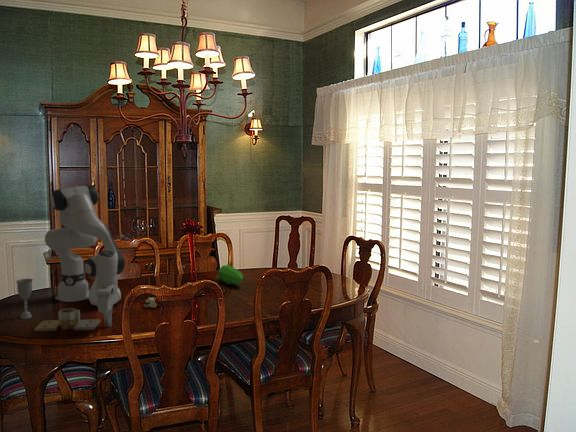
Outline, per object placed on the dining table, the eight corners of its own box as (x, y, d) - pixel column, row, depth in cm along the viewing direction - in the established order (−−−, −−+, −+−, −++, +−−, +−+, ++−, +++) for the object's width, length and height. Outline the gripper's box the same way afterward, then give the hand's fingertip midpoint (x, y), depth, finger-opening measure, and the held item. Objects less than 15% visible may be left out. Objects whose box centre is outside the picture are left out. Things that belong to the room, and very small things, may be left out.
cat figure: (187, 302, 273) (141, 304, 260) (188, 286, 272) (142, 288, 259) (193, 306, 264) (146, 309, 251) (194, 290, 264) (147, 292, 251)
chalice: (30, 313, 244) (29, 277, 242) (37, 316, 239) (35, 280, 237) (15, 317, 238) (13, 280, 236) (21, 320, 234) (19, 283, 232)
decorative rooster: (121, 308, 254) (120, 261, 252) (88, 311, 249) (86, 262, 246) (120, 295, 278) (119, 252, 275) (90, 298, 273) (89, 253, 270)
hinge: (43, 323, 230) (42, 307, 229) (100, 321, 234) (99, 306, 233) (34, 331, 219) (33, 315, 219) (94, 329, 223) (93, 313, 222)
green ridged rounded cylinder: (225, 260, 321) (246, 267, 295) (231, 275, 324) (253, 283, 299) (210, 268, 316) (231, 276, 290) (217, 283, 319) (238, 293, 293)
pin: (105, 325, 229) (105, 304, 228) (112, 325, 229) (112, 304, 228) (104, 327, 226) (103, 306, 225) (111, 327, 226) (110, 306, 225)
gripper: (105, 281, 235) (106, 309, 237) (94, 293, 215) (95, 323, 216) (119, 281, 236) (119, 309, 237) (109, 292, 216) (110, 323, 217)
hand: (108, 316), depth 227 cm, fingers open, 6 cm apart
